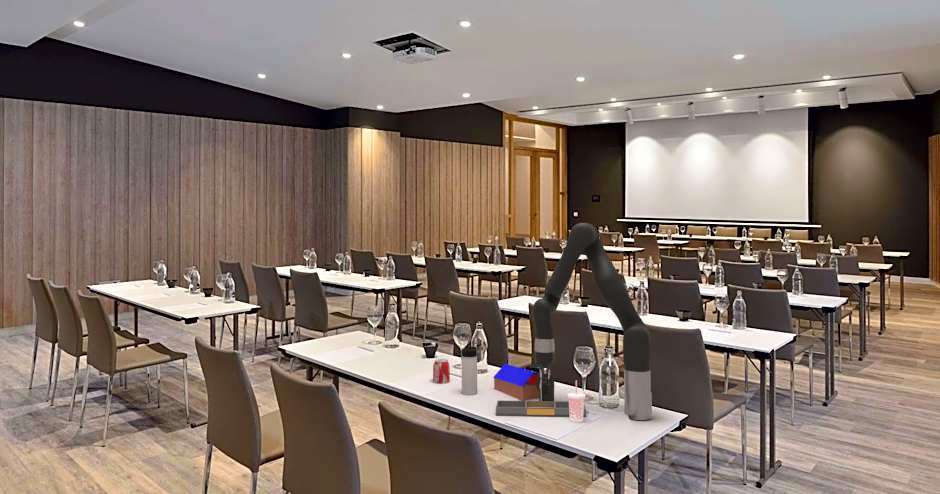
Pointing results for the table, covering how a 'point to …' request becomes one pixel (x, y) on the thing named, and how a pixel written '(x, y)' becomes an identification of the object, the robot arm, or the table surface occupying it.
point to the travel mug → (469, 371)
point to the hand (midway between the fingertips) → (544, 392)
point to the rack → (534, 408)
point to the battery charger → (550, 389)
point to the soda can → (441, 371)
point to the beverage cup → (576, 406)
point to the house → (517, 382)
